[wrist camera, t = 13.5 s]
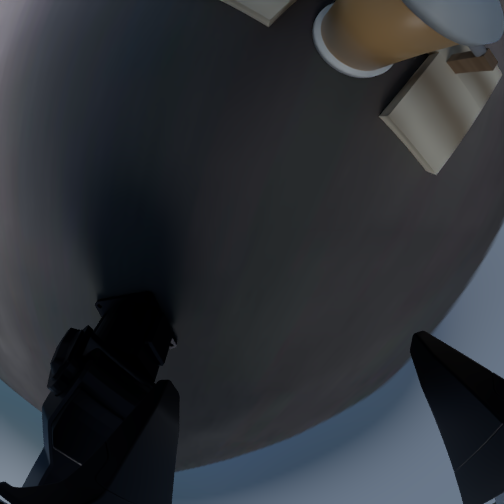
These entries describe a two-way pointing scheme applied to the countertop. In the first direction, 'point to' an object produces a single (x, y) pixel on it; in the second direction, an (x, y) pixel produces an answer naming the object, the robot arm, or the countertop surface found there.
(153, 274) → the countertop surface
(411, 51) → the lidded paper cup
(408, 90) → the grey piece
